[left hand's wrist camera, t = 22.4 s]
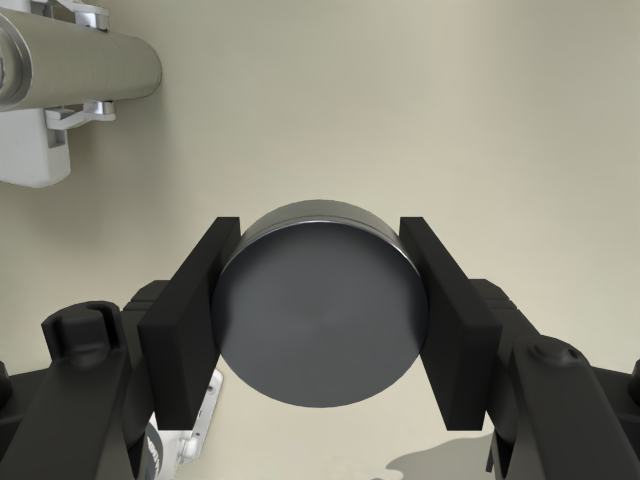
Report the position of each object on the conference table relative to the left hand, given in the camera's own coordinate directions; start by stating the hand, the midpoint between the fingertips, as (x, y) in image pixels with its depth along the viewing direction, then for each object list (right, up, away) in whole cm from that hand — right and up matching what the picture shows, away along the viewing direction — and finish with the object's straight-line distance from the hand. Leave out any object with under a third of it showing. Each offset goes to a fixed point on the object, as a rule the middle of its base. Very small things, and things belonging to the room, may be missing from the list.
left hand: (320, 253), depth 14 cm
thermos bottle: (-17, +16, +22) cm, 32 cm away
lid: (0, -2, -4) cm, 4 cm away
